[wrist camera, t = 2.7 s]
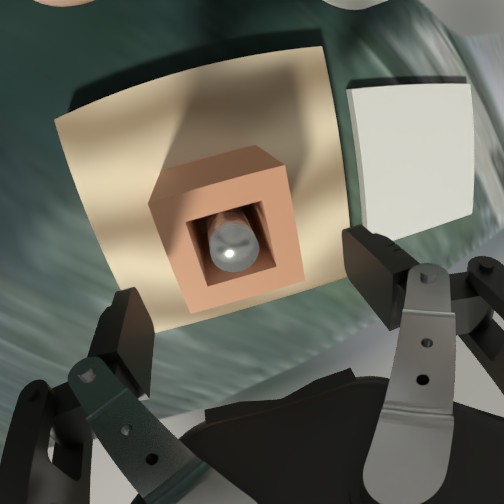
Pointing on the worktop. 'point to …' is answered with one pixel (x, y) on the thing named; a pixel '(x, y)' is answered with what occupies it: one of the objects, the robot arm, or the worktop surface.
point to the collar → (221, 199)
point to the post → (231, 240)
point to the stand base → (202, 146)
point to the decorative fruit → (63, 2)
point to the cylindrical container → (354, 3)
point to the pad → (413, 155)
